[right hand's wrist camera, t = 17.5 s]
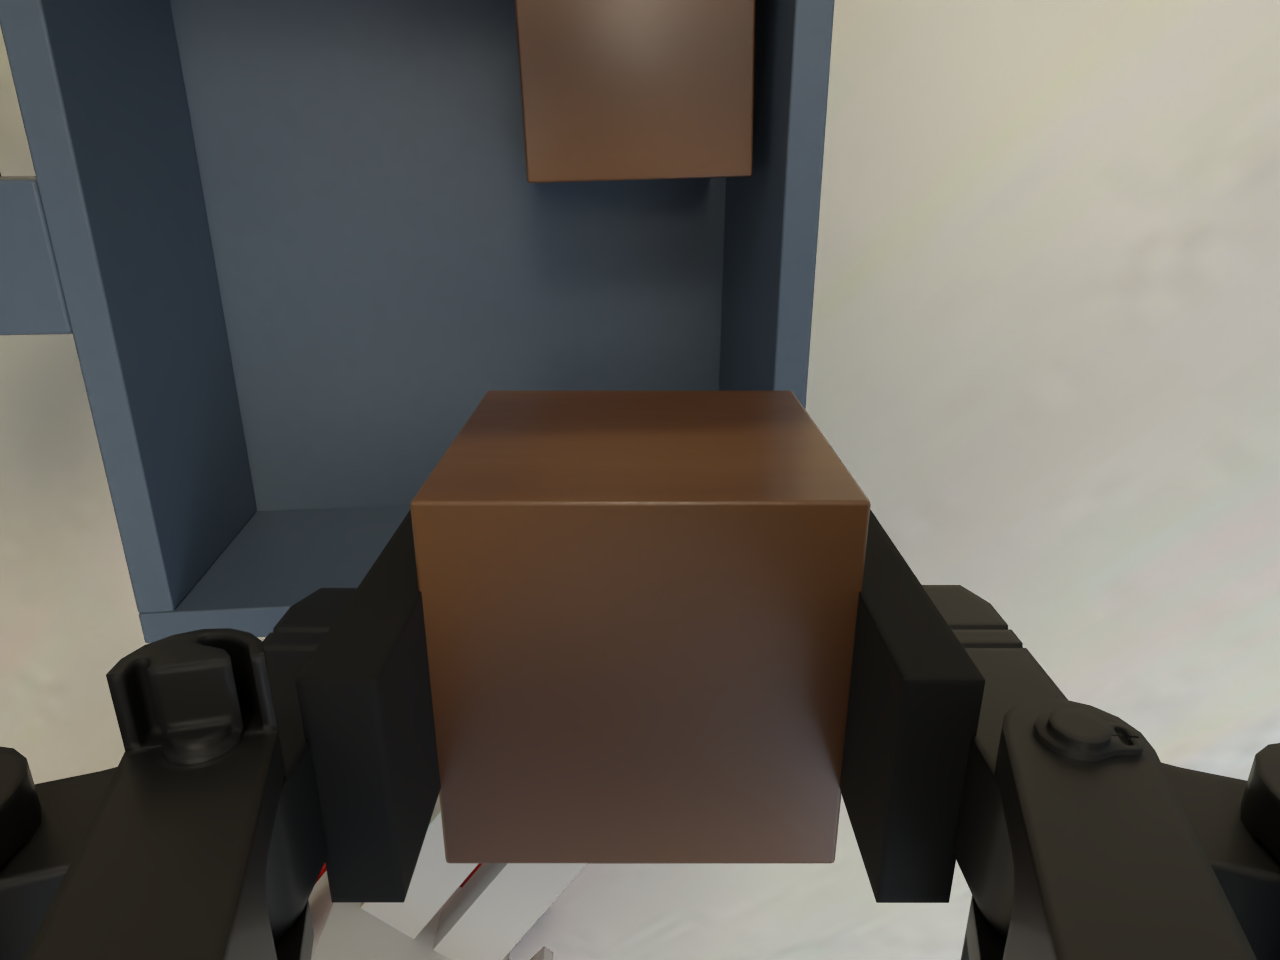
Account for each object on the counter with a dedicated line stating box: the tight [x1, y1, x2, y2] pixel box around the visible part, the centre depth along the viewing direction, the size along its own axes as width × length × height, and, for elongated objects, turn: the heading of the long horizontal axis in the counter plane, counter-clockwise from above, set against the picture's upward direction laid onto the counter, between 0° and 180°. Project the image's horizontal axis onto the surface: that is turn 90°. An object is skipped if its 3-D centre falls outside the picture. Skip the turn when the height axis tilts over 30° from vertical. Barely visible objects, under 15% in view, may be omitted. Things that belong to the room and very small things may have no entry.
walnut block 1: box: [515, 0, 756, 183], centre depth 20 cm, size 5×5×5 cm
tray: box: [0, 0, 834, 643], centre depth 20 cm, size 18×26×7 cm
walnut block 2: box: [410, 391, 870, 863], centre depth 12 cm, size 5×5×5 cm
